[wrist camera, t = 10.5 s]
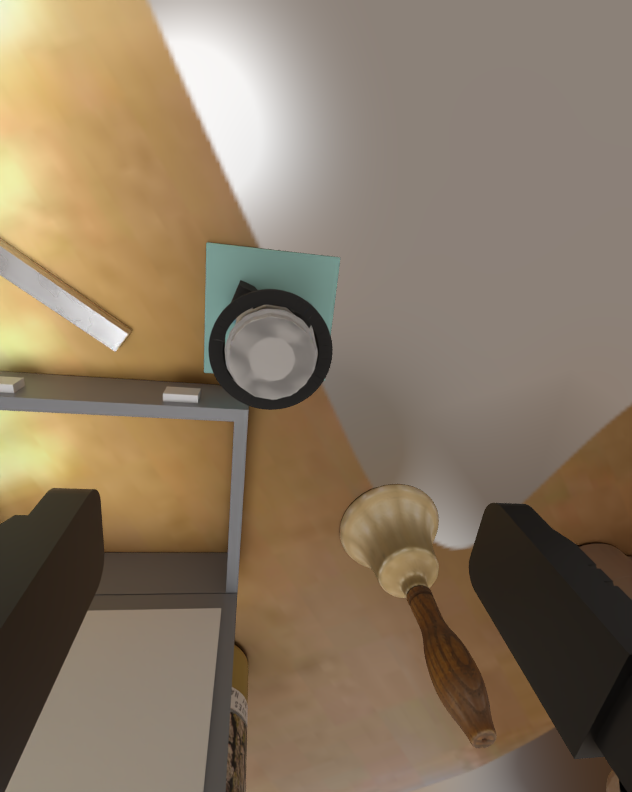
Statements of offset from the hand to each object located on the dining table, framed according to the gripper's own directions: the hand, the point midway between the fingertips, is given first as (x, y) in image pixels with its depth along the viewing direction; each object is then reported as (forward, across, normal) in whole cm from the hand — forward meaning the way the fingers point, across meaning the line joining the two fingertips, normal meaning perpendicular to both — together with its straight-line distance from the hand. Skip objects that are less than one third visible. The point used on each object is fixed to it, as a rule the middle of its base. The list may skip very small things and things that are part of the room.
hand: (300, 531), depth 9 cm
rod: (+20, +13, -1) cm, 24 cm away
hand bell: (+21, -11, +16) cm, 28 cm away
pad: (+20, 0, -1) cm, 20 cm away
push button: (+20, 0, -1) cm, 20 cm away
